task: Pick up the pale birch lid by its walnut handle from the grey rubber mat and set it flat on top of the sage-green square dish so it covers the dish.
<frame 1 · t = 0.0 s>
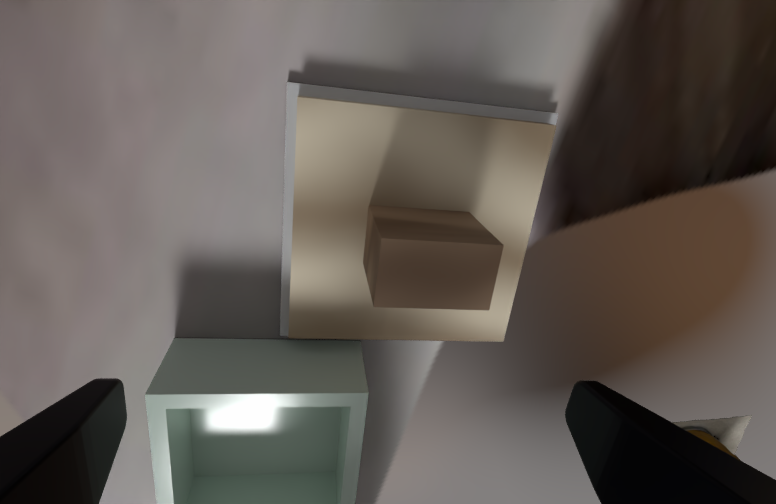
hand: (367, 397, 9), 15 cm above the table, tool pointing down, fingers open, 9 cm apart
mat: (410, 227, 23), on the table
dish: (269, 410, 27), on the table
condiment: (683, 453, 34), on the table
lid: (411, 230, 23), resting on mat
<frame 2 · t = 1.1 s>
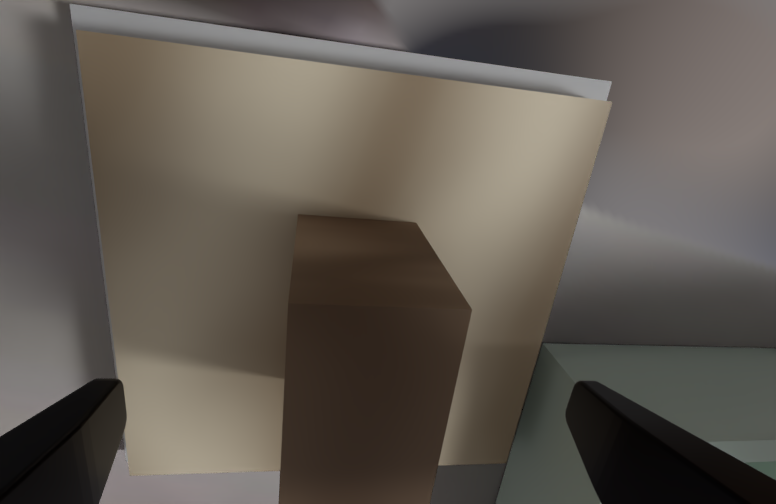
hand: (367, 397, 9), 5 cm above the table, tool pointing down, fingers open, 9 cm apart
mat: (346, 282, 13), on the table
dish: (624, 449, 18), on the table
lid: (347, 288, 13), resting on mat
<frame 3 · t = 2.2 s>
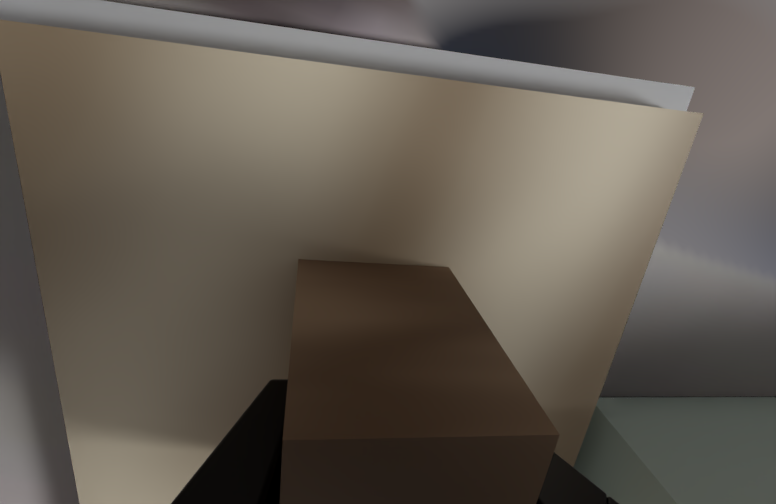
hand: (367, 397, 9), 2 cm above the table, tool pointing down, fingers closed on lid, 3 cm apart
mat: (357, 333, 11), on the table
lid: (358, 342, 11), resting on mat, touching gripper
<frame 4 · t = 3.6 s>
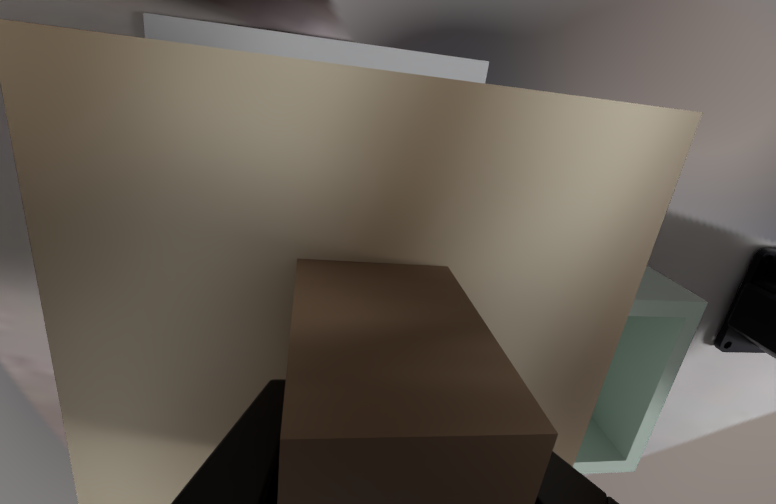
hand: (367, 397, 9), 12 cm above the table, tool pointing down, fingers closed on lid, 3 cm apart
mat: (317, 200, 20), on the table
dish: (530, 339, 25), on the table
lid: (358, 341, 11), point 10 cm above the table, touching gripper
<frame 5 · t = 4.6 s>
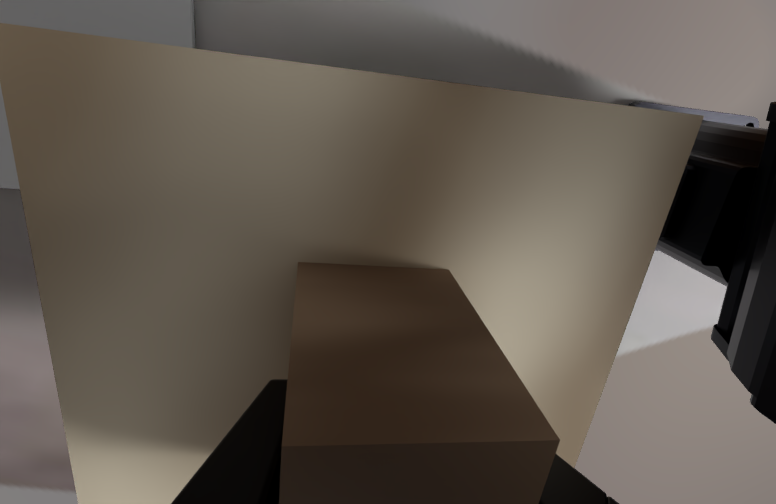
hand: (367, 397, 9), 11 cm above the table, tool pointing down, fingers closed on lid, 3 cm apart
lid: (358, 344, 11), point 9 cm above the table, touching gripper
when the fingers open (8 cm above the table, at t = 5.4 s): lid drops 1 cm, resting on dish.
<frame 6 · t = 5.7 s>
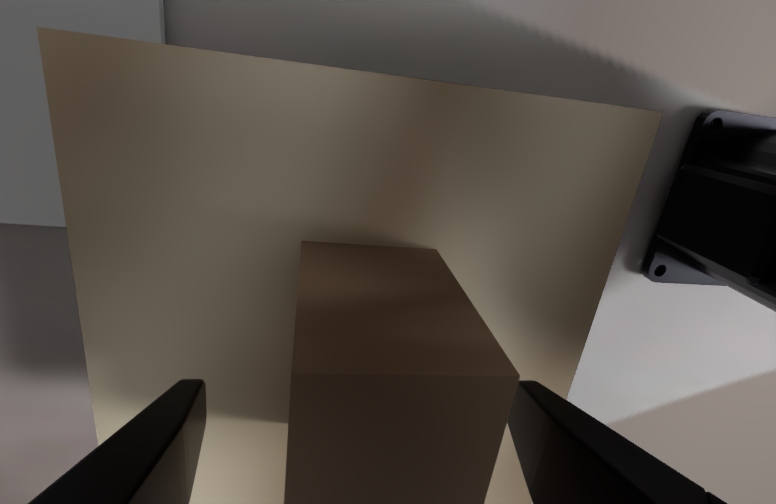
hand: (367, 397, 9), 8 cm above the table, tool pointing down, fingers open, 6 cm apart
lid: (355, 320, 12), point 4 cm above the table, touching dish
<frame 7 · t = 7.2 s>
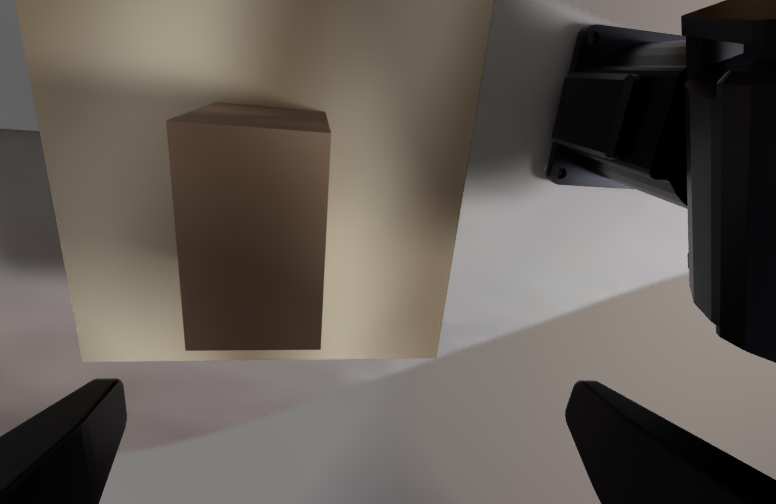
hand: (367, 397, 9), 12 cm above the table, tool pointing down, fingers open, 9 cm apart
lid: (274, 185, 14), point 4 cm above the table, touching dish
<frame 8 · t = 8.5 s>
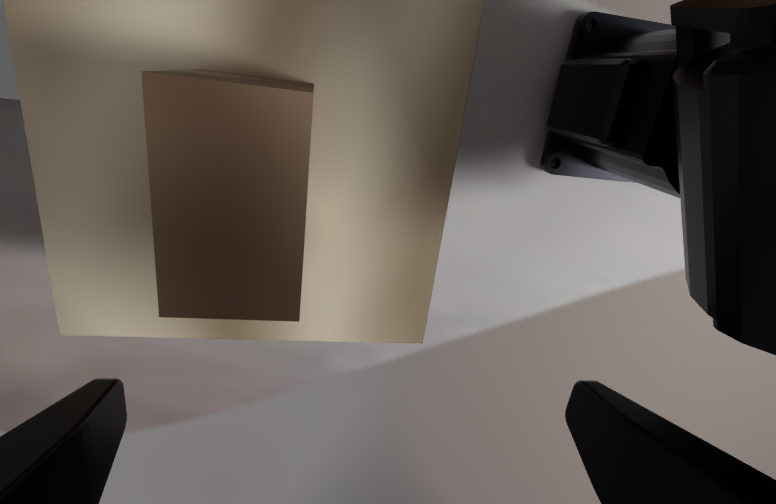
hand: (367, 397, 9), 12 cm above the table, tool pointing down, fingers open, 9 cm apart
lid: (261, 160, 14), point 4 cm above the table, touching dish
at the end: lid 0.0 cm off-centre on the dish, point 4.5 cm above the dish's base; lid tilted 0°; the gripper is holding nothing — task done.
